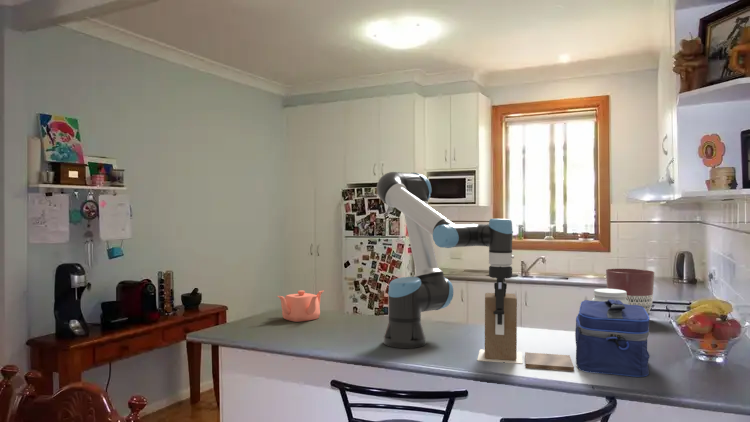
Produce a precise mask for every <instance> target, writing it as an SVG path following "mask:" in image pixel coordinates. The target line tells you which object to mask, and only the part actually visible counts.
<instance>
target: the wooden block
mask: <svg viewBox="0 0 750 422" xmlns="http://www.w3.org/2000/svg"><path fill="white" fill-rule="evenodd" d="M517 305H518V301H517V296H516V294H515V293H506V296H504V335H497V334H495V314H493V311H495V310H496V296H495V292H485V293H484V350H485V358H486V359H500V360H516V359H517V352H518V351H517V347H518V346H517V342H518V341H517V339H518V338H517V335H518V333H517V331H518V330H517V329H518V328H517V327H518V325H517V324H518V322H517V321H518V319H517V318H518V316H517V315H518V311H517V310H518V308H517V307H518V306H517Z"/></svg>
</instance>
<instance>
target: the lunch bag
mask: <svg viewBox="0 0 750 422" xmlns="http://www.w3.org/2000/svg"><path fill="white" fill-rule="evenodd" d="M574 331H575V333H574V334H575V335H574V336H575V347H576V348H575V351H576V353H575V363H576V367H577V369H579V370H580V371H582V372H586V373H593V374H604V375H605V374H606V375H616V376H617V375H618V376H625V377H626V376H627V377H632V378H633V377H634V378H636V377H637V378H638V377H639V378H642V377H643V378H644V377H647V376H649V375H650V374H649V373H650V369H649V365H648V364H649V359H650V356H651V355H650V353H649V351H648V337H649V335H650V316H649V313H648V314H647V312H646V310H645V309H644V308H643V307H642V306H639V305H627V304H623V303H622V302H621V301H620V300H611V299H609V300H608V301H592V300H588V299H584V300H583V301H581V303H580V306H579V311H578V313H577V316H576V318H575V330H574Z"/></svg>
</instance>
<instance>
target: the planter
mask: <svg viewBox="0 0 750 422" xmlns="http://www.w3.org/2000/svg"><path fill="white" fill-rule="evenodd" d="M605 279H606V289H618V290H624V291H626V292H627V297H626V299H627V300H628V302H629V305H639V306H642V307H643V308H644V309H645V310H646V312H647V314H648V315H649V312H651V311H650V310H651V308H652V305H653V300H654V299H653V298H654V284H655V283H654V282H655V271H652V270H647V269H639V268H637V269H636V268H607V269H606V270H605Z"/></svg>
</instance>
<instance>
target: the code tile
mask: <svg viewBox="0 0 750 422" xmlns="http://www.w3.org/2000/svg"><path fill="white" fill-rule="evenodd" d="M477 362H490V363H492V362H493V363H503V362H505V364H520V365H522V364H523V352H522V351H517V359H516V360H500V359H486V358H485V349H482V348H481V349H479V351H478V356H477Z"/></svg>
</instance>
